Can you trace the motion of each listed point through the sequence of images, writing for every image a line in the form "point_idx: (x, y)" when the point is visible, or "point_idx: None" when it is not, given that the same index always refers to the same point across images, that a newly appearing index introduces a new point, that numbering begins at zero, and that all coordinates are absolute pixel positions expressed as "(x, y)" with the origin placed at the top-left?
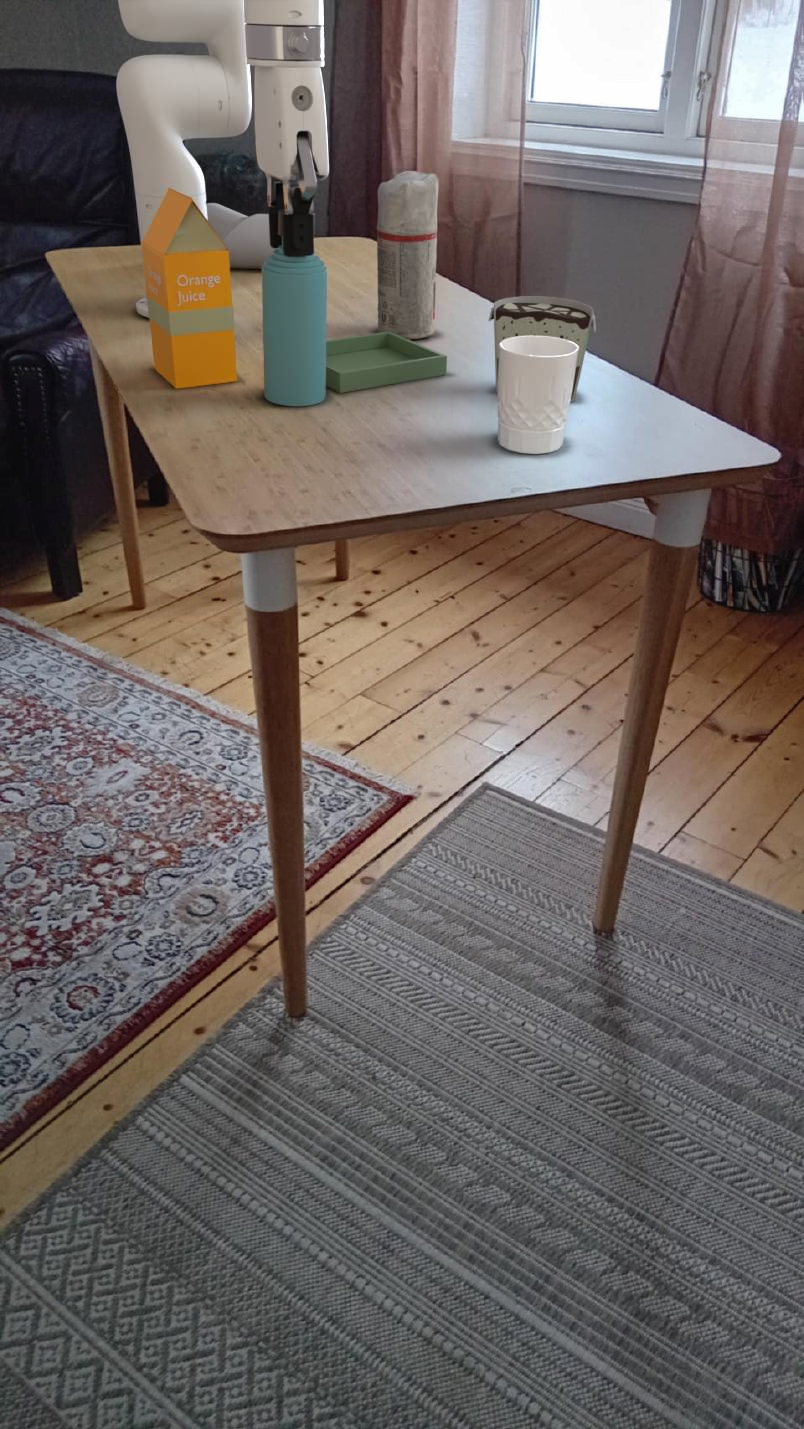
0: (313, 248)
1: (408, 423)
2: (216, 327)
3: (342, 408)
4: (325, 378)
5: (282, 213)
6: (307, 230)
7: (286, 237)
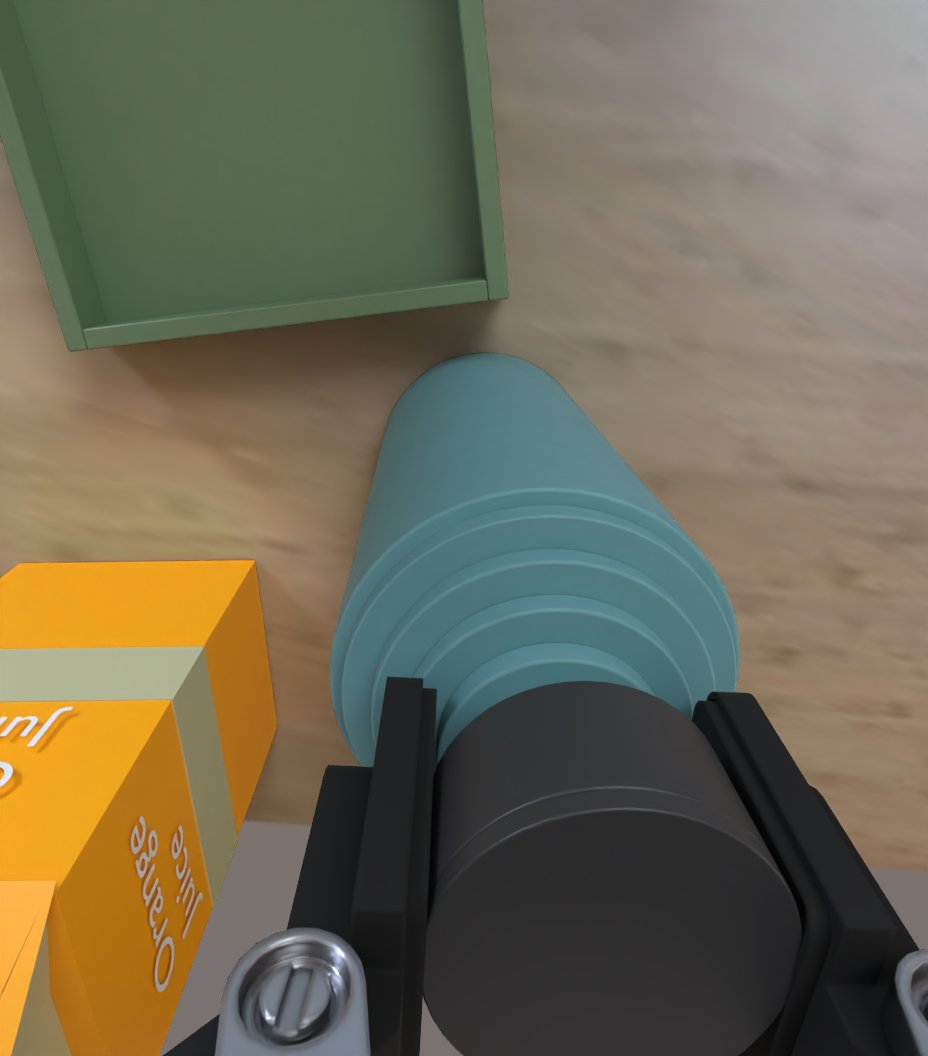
0: (758, 711)
1: (911, 202)
2: (208, 714)
3: (654, 352)
4: (548, 379)
5: None
6: (865, 875)
7: None
